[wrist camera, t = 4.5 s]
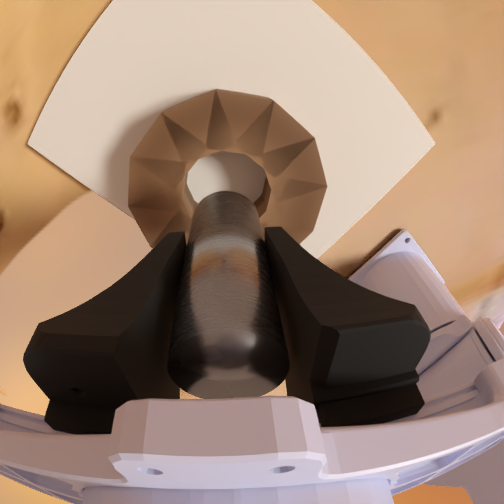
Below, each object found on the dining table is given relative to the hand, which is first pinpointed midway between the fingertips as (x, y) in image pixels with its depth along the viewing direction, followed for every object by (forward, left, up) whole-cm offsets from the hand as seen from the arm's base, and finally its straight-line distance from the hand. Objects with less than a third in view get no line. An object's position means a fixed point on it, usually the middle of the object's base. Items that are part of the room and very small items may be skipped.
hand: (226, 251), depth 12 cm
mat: (+2, -3, -9) cm, 10 cm away
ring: (0, 0, -8) cm, 8 cm away
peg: (0, 0, -2) cm, 2 cm away
